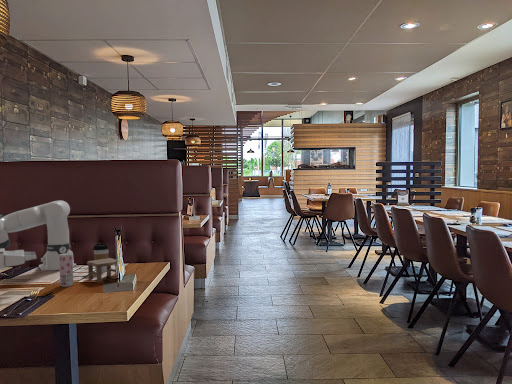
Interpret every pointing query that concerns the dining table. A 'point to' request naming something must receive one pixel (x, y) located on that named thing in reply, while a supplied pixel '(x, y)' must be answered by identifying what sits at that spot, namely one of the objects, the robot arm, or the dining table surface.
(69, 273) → the beverage can
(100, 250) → the coffee cup
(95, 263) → the stool
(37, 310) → the dining table surface
